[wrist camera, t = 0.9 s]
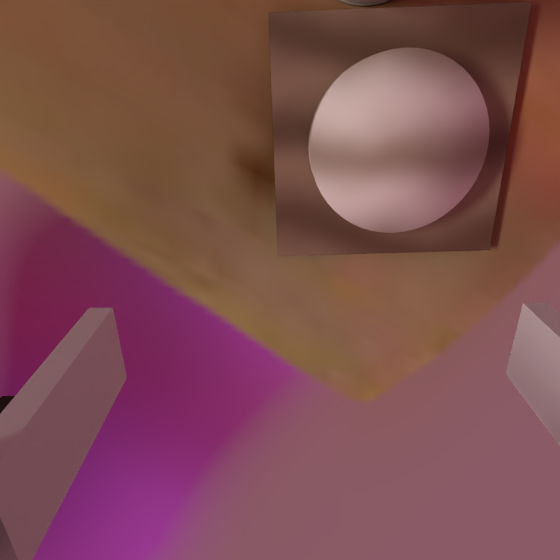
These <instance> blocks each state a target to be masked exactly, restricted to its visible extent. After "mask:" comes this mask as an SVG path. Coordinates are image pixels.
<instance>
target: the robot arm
mask: <svg viewBox="0 0 560 560" xmlns="http://www.w3.org/2000/svg"><path fill="white" fill-rule="evenodd" d="M506 375H507V376H508V378H509V379H510V380H511V382H512V383H513V384H514V386H515V387H516V388H517V390H518V391H519V392H520V394H521V395H522V396H523V398H525V400H526V402H527V403H528V404H529V406H530V407H531V408H532V410H533V411H534V412H535V413H536V415H537V416H538V417H539V419H540V420H541V421H542V423H543V424H544V425H545V427H546V428H547V430H548V431H549V432H550V433H551V435H552V436H553V437H554V439H555V440H556V441H557V443H558V444H559V445H560V313H559V312H557V311H556V310H555V309H554V308H552V306H550V305H549V304H548V303H523V306H522V310H521V314H520V318H519V322H518V326H517V330H516V334H515V338H514V342H513V346H512V350H511V354H510V358H509V362H508V366H507V371H506ZM126 378H127V377H126V372H125V367H124V362H123V357H122V352H121V347H120V342H119V338H118V332H117V327H116V322H115V317H114V312H113V308H89V309H88V310H87V311H86V312H85V313H84V315H83V316H82V317H81V318H80V319H79V321H78V322H77V323H76V324H75V325H74V327H73V328H72V329H71V330H70V331H69V333H68V334H67V335H66V336H65V337H64V338H63V340H62V341H61V342H60V343H59V344H58V346H57V347H56V348H55V349H54V350H53V352H52V353H51V354H50V355H49V356H48V358H47V359H46V360H45V361H44V362H43V363H42V365H41V366H40V367H39V368H38V369H37V371H36V372H35V373H34V374H33V376H32V377H31V378H30V379H29V380H28V381H27V383H26V384H25V385H24V386H23V387H22V389H21V390H20V391H19V392H18V393H17V395H16V396H2V397H1V398H0V560H32V559H33V557H34V555H35V553H36V551H37V549H38V547H39V545H40V543H41V541H42V539H43V538H44V536H45V534H46V532H47V530H48V528H49V526H50V524H51V522H52V520H53V518H54V516H55V514H56V513H57V511H58V509H59V507H60V505H61V503H62V501H63V499H64V497H65V495H66V493H67V491H68V489H69V488H70V486H71V484H72V482H73V480H74V478H75V476H76V474H77V472H78V470H79V468H80V466H81V464H82V463H83V460H84V459H85V457H86V455H87V453H88V451H89V449H90V447H91V445H92V443H93V441H94V439H95V437H96V436H97V433H98V431H99V430H100V428H101V426H102V424H103V422H104V420H105V418H106V416H107V414H108V412H109V411H110V409H111V407H112V405H113V403H114V401H115V399H116V397H117V395H118V393H119V391H120V389H121V387H122V385H123V383H124V382H125V380H126Z"/></svg>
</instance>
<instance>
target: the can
mask: <svg viewBox="0 0 560 560" xmlns="http://www.w3.org/2000/svg"><path fill="white" fill-rule="evenodd" d="M339 1H341V2H344V3H347V4H351V5H356V6H372V5H377V4H381V3H384V2H387V1H389V0H339Z"/></svg>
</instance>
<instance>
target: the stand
mask: <svg viewBox="0 0 560 560" xmlns="http://www.w3.org/2000/svg"><path fill="white" fill-rule="evenodd" d="M531 4H532V2H514V3H489V4H465V5H440V6H416V7H391V8H367V9H342V10H318V11H293V12H269V35H270V61H271V87H272V113H273V140H274V166H275V192H276V218H277V244H278V256H297V255H331V254H366V253H400V252H435V251H469V250H490V245H491V239H492V233H493V227H494V221H495V215H496V209H497V204H498V198H499V192H500V186H501V180H502V174H503V168H504V162H505V156H506V151H507V145H508V139H509V133H510V127H511V121H512V115H513V109H514V104H515V98H516V92H517V86H518V80H519V74H520V68H521V62H522V56H523V51H524V45H525V39H526V33H527V27H528V21H529V15H530V9H531Z"/></svg>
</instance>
